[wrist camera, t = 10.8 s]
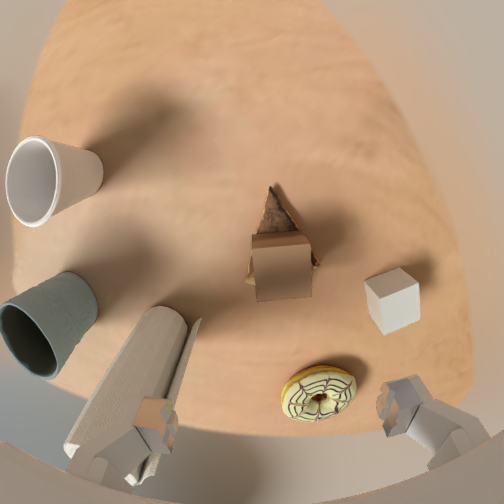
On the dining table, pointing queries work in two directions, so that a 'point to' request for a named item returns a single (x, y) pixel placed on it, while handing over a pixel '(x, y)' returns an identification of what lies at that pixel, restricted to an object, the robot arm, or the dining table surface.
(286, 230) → the shard
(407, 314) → the grey cube
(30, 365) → the teal plant pot
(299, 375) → the decorated donut
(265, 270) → the walnut cube
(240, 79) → the dining table surface
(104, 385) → the paper towel roll
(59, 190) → the dixie cup
